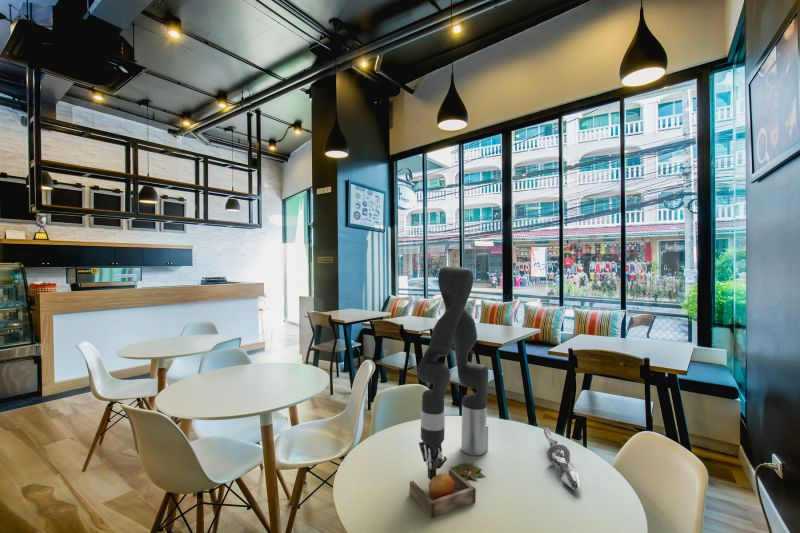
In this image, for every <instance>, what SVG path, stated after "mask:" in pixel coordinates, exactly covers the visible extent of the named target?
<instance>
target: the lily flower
mask: <svg viewBox="0 0 800 533" xmlns="http://www.w3.org/2000/svg"><path fill="white" fill-rule="evenodd" d="M472 461H473V460H472V459H471V460H469V462H468V460H467V459H466V458H465V459H464V460H463V461H462V462H461V463H458V465H454V466H453V465H452V466H450V468H451V469H453V470H454V471H455V472H456V473H457V474H459V475H460V476H461V477H462V478H464V479H465V480H466V481H467V480H469V479H470V478H471V479H472V480H474V482H478V481H477V478H478V477H484V478H485V477H487V476H486V475H484V474H483V473H482V472H481V470H483V469H482V468H480V467H478V466H476V465H475V462H474V461H473V462H472ZM469 472H470V473H469ZM468 473H469V474H468Z"/></svg>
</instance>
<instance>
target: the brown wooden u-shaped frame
mask: <svg viewBox="0 0 800 533" xmlns="http://www.w3.org/2000/svg"><path fill="white" fill-rule="evenodd" d="M448 475H449V476H450V477H451V478H452V479H453V481H454V484H455V490H457V491H456V492H454V493H453V494H450V495H447V496H444V497H441V498H438V499H435V500H433V499H432V498H431V497H430V495H429V494H427V493H425V491H424V490H423V489H422V488H421V487H420V486H419V485H418V484H417V483H416V482H415V480H411V481H409V496H410V497H411V498H412V499H413V500H414V501H415V502H416V504H418V506H419V508H421V509H422V510H423V511H424V513H425V514H426V515H428V517H429V518H430V519H433V518H437V517H438V516H440V515H444V514H447V513H450V512H452V511H454V510H458V509H460V508H463V507H465V506H468V505H470V504H473V503H476V502H477V501H476V498H477V497H476V496H477V495H476V494H477V492H476V491H477V490H476V487H475V486H473V485H472V484H471V483H470V482H468V481H467V479H466V480H465V479H464V478H462V477H461V476H460V474H457V473H456V472H455V470H454V469H452V468H451V469H448Z"/></svg>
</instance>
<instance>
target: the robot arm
mask: <svg viewBox="0 0 800 533" xmlns="http://www.w3.org/2000/svg"><path fill="white" fill-rule="evenodd" d="M437 283H438V284H437V285H438V288H439V292H440V295H441V297H442V301H443V304H444V307H445V310H446V311H445V312H444V313H443V314H442V315H441V317H440V318H439V319H438V320H437V321H436V323H435V325H434V327H433V330H432V333H431V337H430V340H429V341H430V342H429V345H428V347H427V349H426V350H425V353H424V354H423V355H422V358H421V359H420V361H419V364H418V365H417V377H418V379H419V380H420V381H421V382H422V383H426V384H430V385H433V387H432V389H427V390H424V391H423V393H422V395H421V414H420V440H422V441H421V442H420V441H419V442H418V445H419V448H420V452H421V455H422V459H423V462H424V463H426V466H427V479H429V480H430V481H431V479H432V478H433V477H435V476H436V475H437V470H439V469H441V468H442V467H443V466H444V464H445V463H446V461H447V460H448V459H447V456H444V455H443V453H442V452H443V448H442V444H443V442H444V441H445V425H446V423H445V420H446V419H445V418H446V417H445V399H446V398H445V397H446V393H447V391H448V390H447V389H448V386H449V383H450V379H451V371H450V369H449V367H448V366H447V365H446V364H444V363H442V362H438V360H439V358H440V357H448V356H449V355H450V354H451V350H452V347H454V352H455V353H454V354H455V358H456V369H457V376H458V377H457V378H458V381H459V384H461V386H463V387H465V388H472V389H476V392H474V393H468V394H465V395H464V396H463V397H462V399H461V400H462V402H461V403H462V404H461V405H462V406H461V451H462V452H463V453H465V454H467V455H469V456H482V455H484V454H485V453H486V452H487V451H488V450H489V425H488V424H487V406H488V405H487V401H488V388H489V369H488V367H487V365H486V364H481V363H474V362H470V361H469V360H468V359H469V358H468V356H469V354H470V353H471V351H472V349H473V348H474V346H475V344H476V342H477V340H478V333H477V328H476V322H475V320H474V318H473V316H472V315H471V313H470V312H469V310H468V309H467V308H466V305H467V303H468V301H469V300H468V299H469V297H470V295H471V292H472V289H473V285H474V273H473V271H472V270H471V269H470V268H468V267H461V266H443V267H442V268H440V270H439V271H438V275H437Z"/></svg>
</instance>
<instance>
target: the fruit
mask: <svg viewBox="0 0 800 533" xmlns="http://www.w3.org/2000/svg"><path fill="white" fill-rule="evenodd" d="M428 490H429V492H428V493H429V494H428V495H429V497H430V498H431V499H432V500H435V499H438V498H441V497H444V496H447V495H450V494H453V493H456V492H455V490H456V488H455V484H454V481H453V479H452V478H451V477H450V476H449V473H448V474H447V473H438V474H436V476H435V477H433V478H432V479H431V480H430V481H429V483H428Z"/></svg>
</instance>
